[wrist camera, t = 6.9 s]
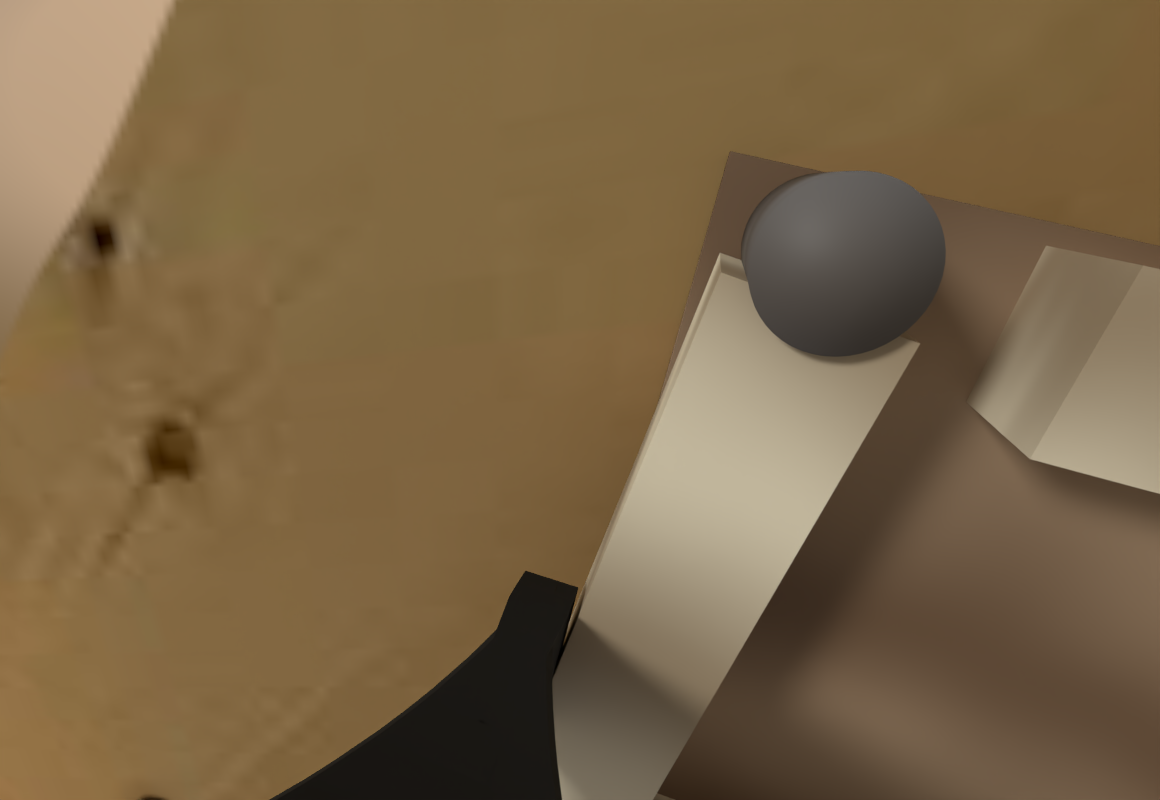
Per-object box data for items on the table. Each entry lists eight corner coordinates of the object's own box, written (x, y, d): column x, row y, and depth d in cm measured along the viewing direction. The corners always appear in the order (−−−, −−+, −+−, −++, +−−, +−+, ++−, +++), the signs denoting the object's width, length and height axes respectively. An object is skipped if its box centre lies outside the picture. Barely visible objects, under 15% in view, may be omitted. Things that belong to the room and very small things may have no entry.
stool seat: (1195, 1028, 14) (1316, 1241, 11) (547, 790, 16) (511, 921, 13) (1963, 426, 7) (2685, 570, 5) (728, 154, 9) (734, 144, 7)
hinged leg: (762, 148, 8) (778, 138, 6) (932, 205, 8) (1005, 214, 6) (526, 728, 13) (491, 827, 11) (626, 771, 13) (610, 881, 11)
